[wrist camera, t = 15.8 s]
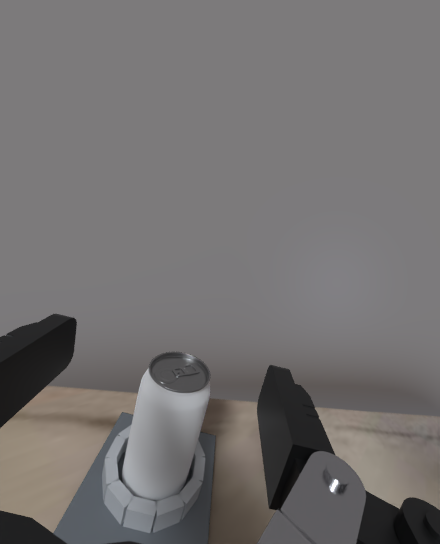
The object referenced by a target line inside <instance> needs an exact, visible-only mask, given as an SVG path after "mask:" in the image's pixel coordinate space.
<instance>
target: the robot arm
mask: <svg viewBox="0 0 440 544" xmlns="http://www.w3.org/2000/svg"><path fill="white" fill-rule="evenodd" d="M76 323H77V322H76V319H75V318H71V317H67V316H63V315H59V314H53V315H51V316H49V317H47V318H46V319H43V320H42V321H40V322H38V323H33V324H29V325H26V326H22V327H19V328H17V329H15V330H13V331H12V332H10V333H8V334H7V335H6V336H2V337H0V428H1V427H2V426H3V425H4V424H5V423H6V422H7V421H8V420H10V419H11V418H12V417H13V416H14V415H15V414H16V413H17V412H18V411H19V410H21V409H22V408H23V407H24V406H25V405H26V404H27V403H28V402H29V401H30V400H31V399H33V398H34V397H35V396H36V395H37V394H38V393H39V392H40V391H41V390H42V389H44V388H45V387H46V386H47V385H48V384H49V383H50V382H51V381H52V380H53V379H54V378H55V377H57V376H58V375H59V374H60V373H61V372H62V371H63V370H64V369H65V368H66V367H67V366H68V364H69V363H70V361H71V359H72V357H73V353H74V344H75V335H76V325H77V324H76ZM257 416H258V424H259V432H260V440H261V448H262V456H263V464H264V472H265V480H266V488H267V496H268V504H269V509H273V510H276V512H275V514H274V515H273V517H272V519H271V520H270V522H269V524H268V526H267V527H266V529H265V531H264V532H263V534H262V536H261V538H260V539H259V541H258V543H257V544H440V510H439V509H437V508H436V507H434V506H433V505H431V504H429V503H427V502H425V501H423V500H421V499H418V498H407V499H405V500H404V502H403V504H402V506H401V508H400V509H398V508H397V507H395V506H393V505H391V504H389V503H387V502H385V501H384V500H382V499H380V498H378V497H376V496H374V495H372V494H371V493H369V492H367V491H366V490H365V488H364V486H363V483H362V481H361V480H360V478H359V476H358V475H357V474H356V472H355V471H354V470H353V469H352V468H351V467H350V466H349V465H348V464H347V463H346V462H345V461H343V460H342V459H340V458H339V457H337V456H335V453H334V451H333V449H332V446H331V444H330V442H329V439H328V437H327V435H326V432H325V430H324V428H323V425H322V423H321V421H320V419H319V416H318V414H317V411H316V410H315V407H314V405H313V402H312V400H311V398H310V396H309V395H308V393H307V392H306V391H305V390H304V389H303V388H302V387H301V385H297V384H295V383H294V380H293V378H292V375H291V372H290V370H289V369H286V368H281V367H277V366H273V365H270V366H269V368H268V370H267V373H266V376H265V379H264V383H263V386H262V389H261V392H260V396H259V399H258V406H257ZM0 544H67V543H66V542H64V541H63V540H62V539H60V538H59V537H57V536H56V535H55V534H53V533H52V532H50V531H49V530H48V529H46V528H45V527H43V526H42V525H41V524H39V523H38V522H36V521H35V520H34V519H32V518H30V517H25V516H21V515H17V514H13V513H8V512H4V511H0ZM107 544H141V543H137V542H132V541H125V542H116V543H107Z"/></svg>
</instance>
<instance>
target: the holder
mask: <svg viewBox="0 0 440 544" xmlns="http://www.w3.org/2000/svg"><path fill="white" fill-rule="evenodd" d="M132 420H133V415H131V414H127V413H123V412H122V413H121V415H120V417H119V419H118V420H117V422H116V424H115V426H114V427H113V429H112V431H111V433H110V434H109V436H108V438H107V440H106V442H105V443H104V445H103V447H102V449H101V450H100V452H99V454H98V456H97V457H96V459H95V461H94V463H93V464H92V466H91V468H90V470H89V471H88V473H87V475H86V477H85V478H84V480H83V482H82V484H81V486H80V487H79V489H78V491H77V493H76V494H75V496H74V498H73V500H72V501H71V503H70V505H69V507H68V508H67V510H66V512H65V514H64V515H63V517H62V519H61V521H60V522H59V524H58V526H57V528H56V530H55V531H54V533H53V534H55V535H56V536H57V537H59V538H60V539H62V540H63V541H64V542H66V543H67V544H107V543H116V542H125V541H132V542H137V543H141V544H208V535H209V521H210V507H211V493H212V479H213V466H214V452H215V438H216V436H215V435H211V434H207V433H203V432H200V434H199V438H198V441H197V445H196V448H195V452H194V455H193V459H192V462H191V466H190V469H189V473H188V476H187V479H186V482H185V485H184V487H183V489H182V490H181V492H180V493H179V494H177V495H175V496H172V497H169V498H166V499H163V500H160V501H158V502H155V501H151V500H147V499H143V498H139V497H135V496H133V495H132V494H131V493H130V492H129V490H128V489H127V488H126V487H125V486H124V484H123V481H122V470H123V464H124V459H125V454H126V449H127V444H128V439H129V434H130V430H131V425H132Z"/></svg>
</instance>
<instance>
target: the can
mask: <svg viewBox="0 0 440 544" xmlns="http://www.w3.org/2000/svg"><path fill="white" fill-rule="evenodd" d="M209 381H210V371H209V369H208V367H207V366H206V365H205V363H204V362H203V361H201V360H200V359H198V358H197V357H195V356H192V355H190V354H186V353H182V352H166V353H162V354H160V355H158V356H156V357H155V358H153V359H152V361H151V362H150V364H149V368H148V370H147V371H146V372H145V374H144V375H143V377H142V380H141V384H140V388H139V392H138V397H137V401H136V406H135V411H134V415H133V420H132V425H131V430H130V434H129V439H128V444H127V449H126V454H125V459H124V464H123V470H122V481H123V484H124V486H125V487H126V488H127V489H128V490H129V492H130V493H131V494H132V495H133V496H135V497H139V498H143V499H147V500H151V501H155V502H158V501H160V500H163V499H166V498H169V497H172V496H175V495H177V494H179V493H180V492H181V490H182V489H183V487H184V485H185V482H186V479H187V476H188V473H189V469H190V466H191V462H192V459H193V455H194V452H195V448H196V445H197V441H198V438H199V434H200V431H201V427H202V424H203V420H204V416H205V413H206V409H207V406H208V402H209V398H210V392H211V391H210V390H211V389H210V383H209Z"/></svg>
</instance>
